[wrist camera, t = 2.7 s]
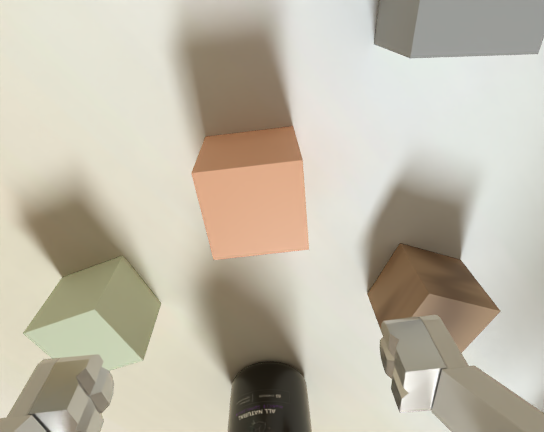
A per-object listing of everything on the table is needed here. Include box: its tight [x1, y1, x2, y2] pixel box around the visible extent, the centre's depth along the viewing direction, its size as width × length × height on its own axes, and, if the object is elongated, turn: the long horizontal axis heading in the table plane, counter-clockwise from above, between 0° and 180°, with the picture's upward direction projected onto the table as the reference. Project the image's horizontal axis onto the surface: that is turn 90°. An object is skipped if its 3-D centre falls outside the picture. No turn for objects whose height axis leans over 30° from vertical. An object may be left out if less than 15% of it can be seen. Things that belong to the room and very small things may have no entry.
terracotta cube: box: [192, 126, 309, 260], centre depth 19 cm, size 5×5×5 cm
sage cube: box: [23, 256, 161, 371], centre depth 24 cm, size 5×5×5 cm
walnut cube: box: [368, 243, 500, 353], centre depth 24 cm, size 5×5×5 cm
